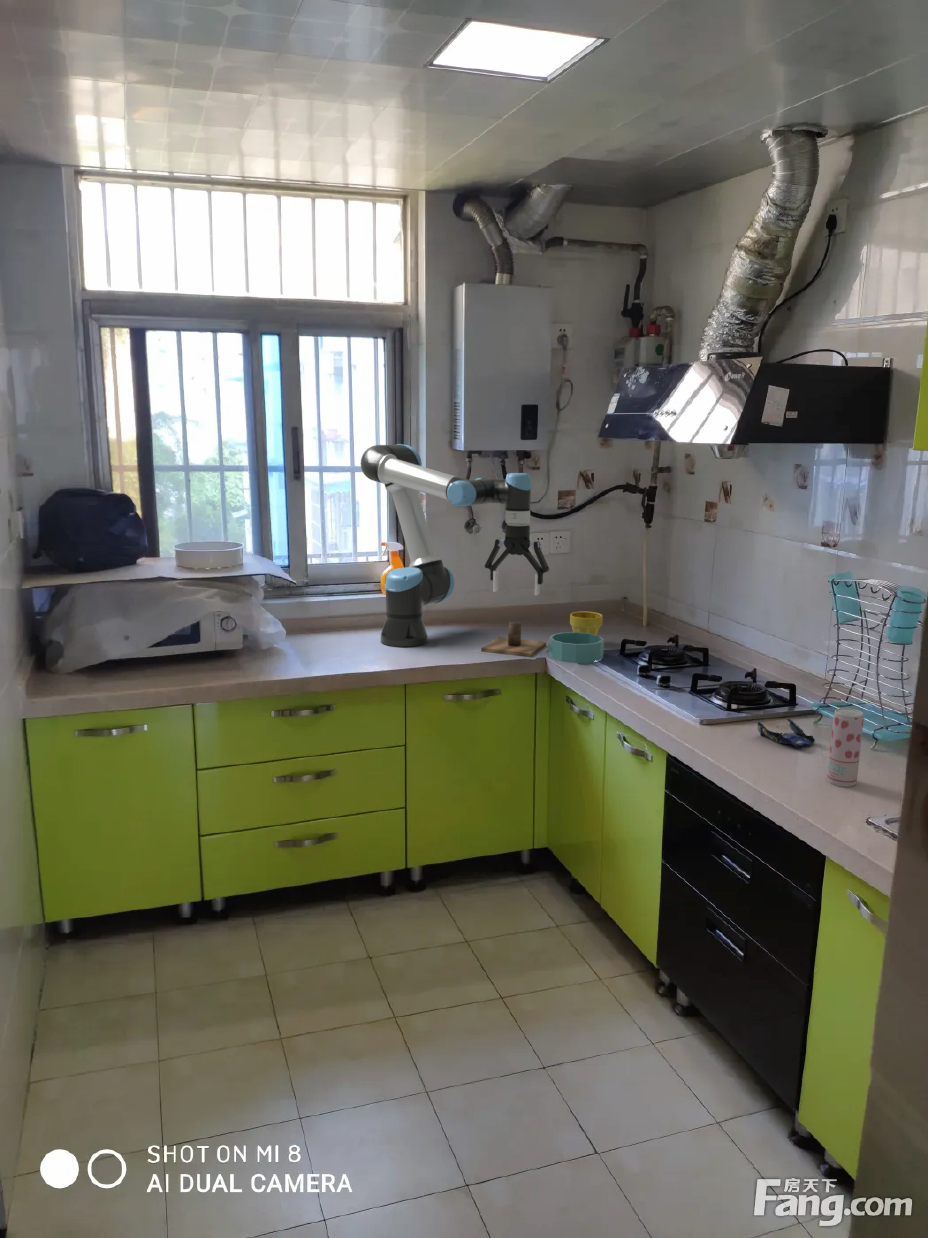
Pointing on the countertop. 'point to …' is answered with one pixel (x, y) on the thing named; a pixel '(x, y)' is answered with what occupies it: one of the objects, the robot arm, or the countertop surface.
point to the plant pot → (586, 622)
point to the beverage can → (845, 747)
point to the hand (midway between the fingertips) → (516, 592)
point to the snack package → (788, 735)
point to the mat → (514, 655)
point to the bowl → (576, 647)
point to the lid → (514, 643)
